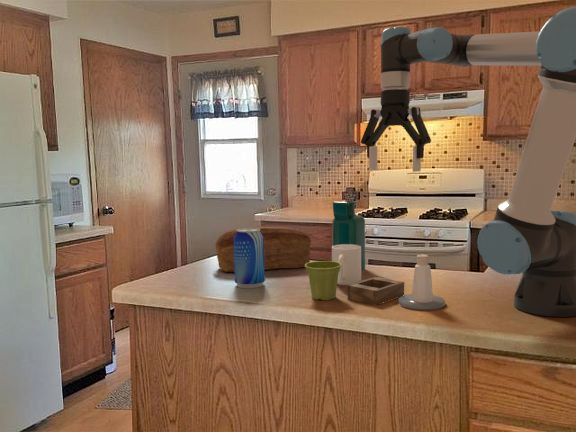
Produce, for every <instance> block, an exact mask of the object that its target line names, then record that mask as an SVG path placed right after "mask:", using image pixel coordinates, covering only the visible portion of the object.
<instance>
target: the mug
mask: <svg viewBox="0 0 576 432" xmlns="http://www.w3.org/2000/svg"><path fill="white" fill-rule="evenodd" d="M331 261H334V262H339V263H341V264H342V266H341V267H340V271H339V273H338V281H337V285H339V286H348V285H350V284H353V283H357V282H360V281H362V271H361V246H359V245H353V244H340V245H334V246H333V245H332V246H331Z"/></svg>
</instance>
